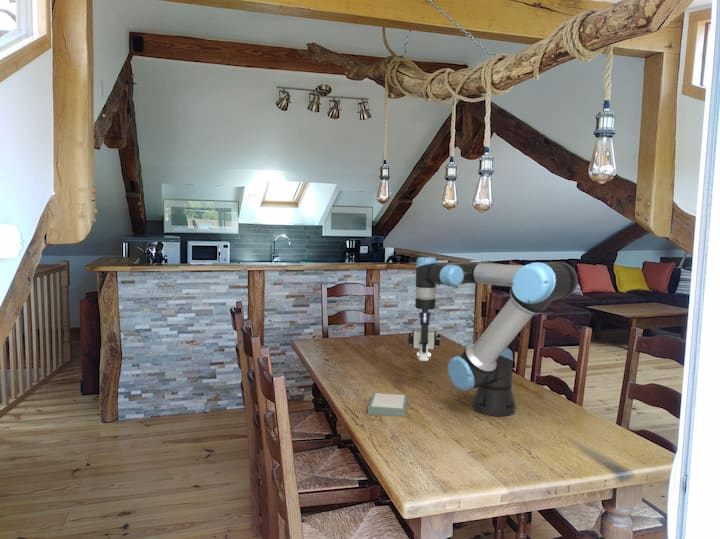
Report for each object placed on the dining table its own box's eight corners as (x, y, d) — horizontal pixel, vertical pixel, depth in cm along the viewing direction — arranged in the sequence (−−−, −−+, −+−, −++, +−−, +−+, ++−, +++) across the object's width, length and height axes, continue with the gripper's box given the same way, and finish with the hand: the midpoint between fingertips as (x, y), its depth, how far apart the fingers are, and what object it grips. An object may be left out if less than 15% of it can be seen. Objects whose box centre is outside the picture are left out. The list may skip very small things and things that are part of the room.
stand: (407, 401, 194) (407, 394, 194) (405, 416, 179) (405, 408, 179) (373, 399, 196) (373, 392, 195) (368, 414, 181) (368, 406, 181)
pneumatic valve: (439, 362, 193) (439, 330, 192) (407, 360, 195) (408, 328, 194) (439, 358, 198) (440, 327, 197) (409, 356, 201) (410, 325, 200)
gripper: (416, 294, 204) (415, 352, 206) (414, 301, 186) (413, 364, 188) (435, 294, 203) (434, 352, 205) (435, 302, 185) (434, 365, 187)
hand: (424, 358), depth 197 cm, fingers closed on pneumatic valve, 5 cm apart
